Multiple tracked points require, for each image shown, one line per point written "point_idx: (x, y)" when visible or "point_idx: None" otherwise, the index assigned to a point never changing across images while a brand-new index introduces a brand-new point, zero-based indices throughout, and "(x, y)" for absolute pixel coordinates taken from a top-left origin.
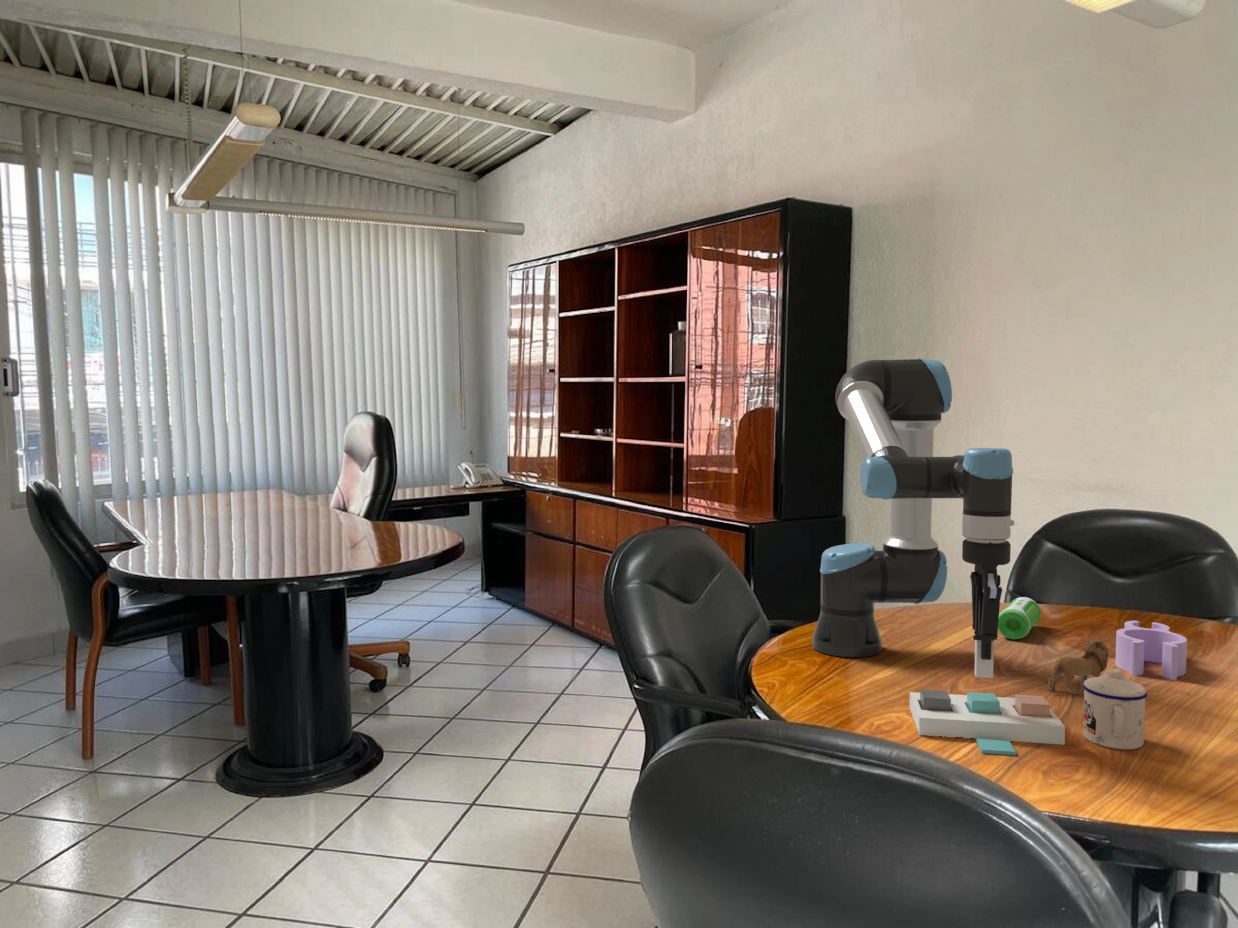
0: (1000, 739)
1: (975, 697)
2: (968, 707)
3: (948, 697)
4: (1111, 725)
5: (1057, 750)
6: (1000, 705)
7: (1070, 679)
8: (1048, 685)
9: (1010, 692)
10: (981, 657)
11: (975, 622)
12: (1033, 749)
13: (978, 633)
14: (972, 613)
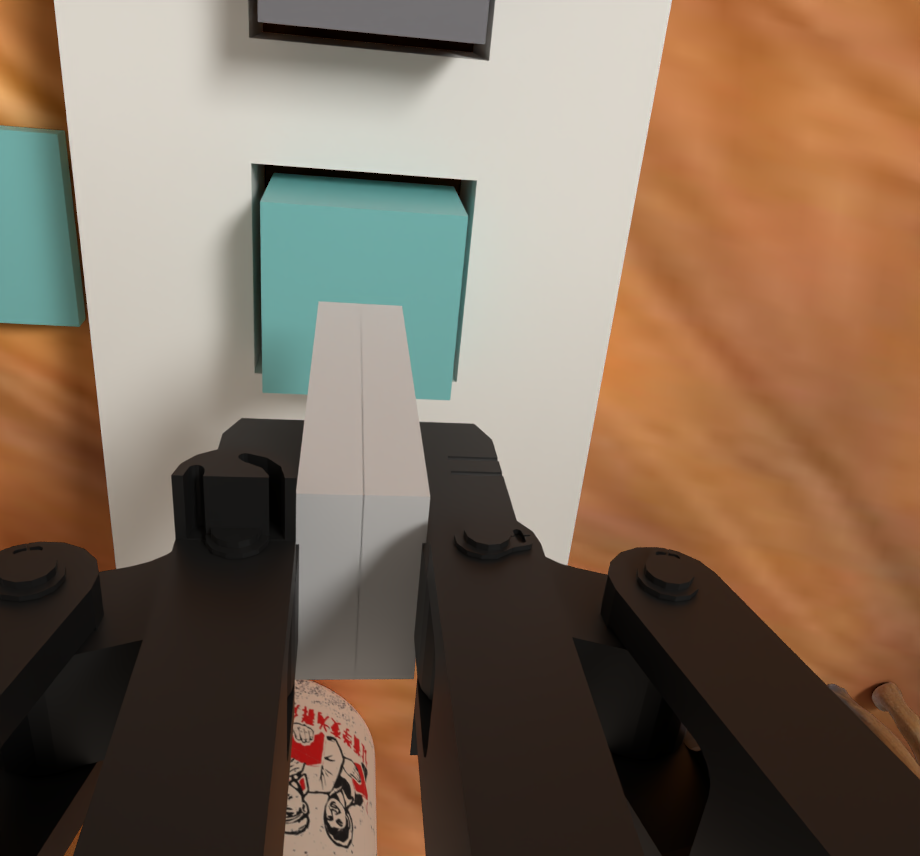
0: (70, 281)
1: (337, 246)
2: (396, 189)
3: (306, 13)
4: None
5: (53, 525)
6: (431, 402)
7: None
8: (896, 698)
9: (885, 523)
10: (270, 425)
11: (527, 654)
12: (29, 421)
13: (250, 567)
14: (865, 729)
